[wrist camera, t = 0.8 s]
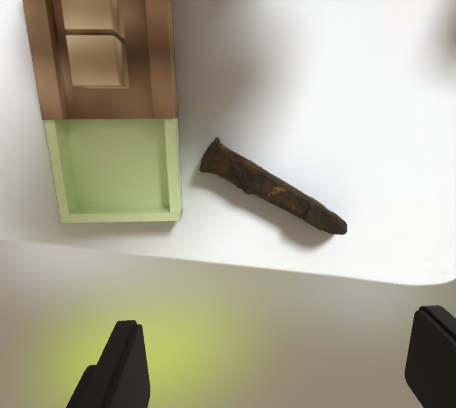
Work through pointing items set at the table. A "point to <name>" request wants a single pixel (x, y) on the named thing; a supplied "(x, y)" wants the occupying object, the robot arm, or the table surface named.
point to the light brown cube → (94, 17)
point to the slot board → (136, 58)
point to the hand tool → (269, 188)
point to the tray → (116, 169)
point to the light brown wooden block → (98, 61)
